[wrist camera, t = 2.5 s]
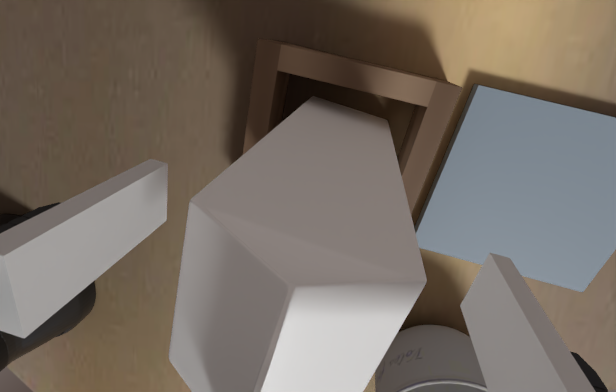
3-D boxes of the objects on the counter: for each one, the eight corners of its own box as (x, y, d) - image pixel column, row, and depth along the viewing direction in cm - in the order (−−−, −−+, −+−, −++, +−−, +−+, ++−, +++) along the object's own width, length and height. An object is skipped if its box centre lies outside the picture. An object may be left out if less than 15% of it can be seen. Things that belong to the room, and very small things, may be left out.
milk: (388, 119, 25) (480, 421, 5) (360, 189, 27) (343, 573, 7) (310, 94, 25) (82, 282, 5) (290, 166, 27) (89, 480, 7)
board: (409, 239, 28) (411, 245, 27) (474, 83, 22) (478, 85, 22) (575, 284, 27) (582, 292, 26) (686, 134, 22) (700, 137, 21)
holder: (251, 193, 29) (235, 214, 25) (274, 40, 24) (257, 38, 20) (390, 231, 28) (393, 258, 25) (447, 81, 23) (462, 87, 19)
